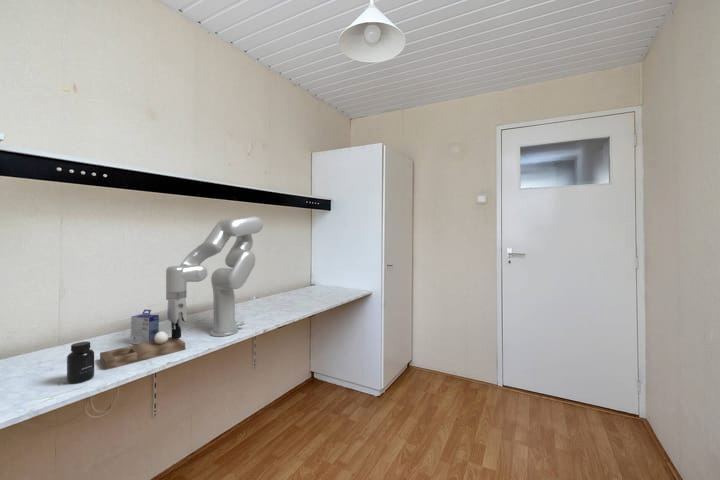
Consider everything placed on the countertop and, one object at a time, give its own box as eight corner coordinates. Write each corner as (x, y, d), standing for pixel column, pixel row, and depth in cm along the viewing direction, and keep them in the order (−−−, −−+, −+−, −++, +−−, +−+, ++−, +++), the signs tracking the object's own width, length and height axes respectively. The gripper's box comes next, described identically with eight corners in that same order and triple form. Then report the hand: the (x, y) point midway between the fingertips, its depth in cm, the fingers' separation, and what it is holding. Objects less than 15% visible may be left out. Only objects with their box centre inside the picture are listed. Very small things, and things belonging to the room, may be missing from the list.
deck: (175, 342, 139) (175, 336, 138) (185, 349, 130) (185, 342, 130) (100, 360, 119) (99, 352, 119) (106, 369, 111) (106, 361, 111)
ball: (166, 340, 133) (166, 328, 133) (170, 343, 129) (170, 331, 129) (152, 343, 129) (152, 331, 129) (156, 346, 126) (156, 334, 126)
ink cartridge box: (159, 341, 140) (159, 309, 140) (149, 345, 135) (148, 312, 135) (141, 340, 142) (141, 308, 142) (130, 344, 137) (129, 311, 137)
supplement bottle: (87, 382, 102) (87, 346, 101) (62, 385, 100) (61, 348, 99) (98, 373, 108) (98, 339, 108) (74, 376, 106) (74, 341, 106)
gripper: (192, 296, 131) (192, 339, 131) (179, 291, 141) (179, 332, 141) (172, 298, 125) (172, 344, 125) (160, 294, 135) (160, 336, 135)
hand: (176, 337), depth 133 cm, fingers closed
